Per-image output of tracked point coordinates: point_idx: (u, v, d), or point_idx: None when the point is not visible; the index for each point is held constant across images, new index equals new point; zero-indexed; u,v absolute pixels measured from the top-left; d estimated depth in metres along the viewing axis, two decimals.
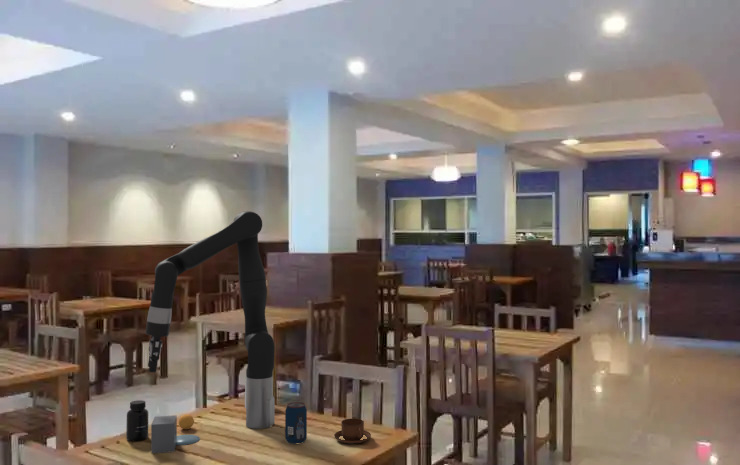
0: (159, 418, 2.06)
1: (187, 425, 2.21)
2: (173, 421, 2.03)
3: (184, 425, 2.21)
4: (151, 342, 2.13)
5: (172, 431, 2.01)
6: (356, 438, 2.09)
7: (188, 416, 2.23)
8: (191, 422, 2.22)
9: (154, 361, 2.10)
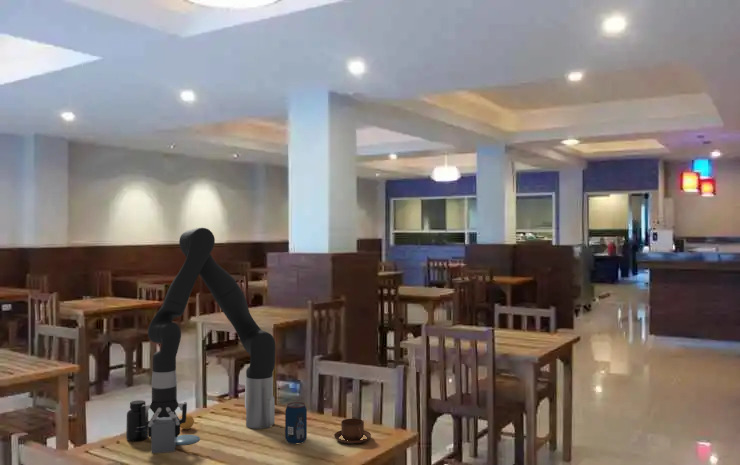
0: (159, 418, 2.06)
1: (187, 425, 2.21)
2: (173, 421, 2.03)
3: (184, 425, 2.21)
4: (170, 408, 2.03)
5: (172, 431, 2.01)
6: (356, 438, 2.09)
7: (188, 416, 2.23)
8: (191, 422, 2.22)
9: None
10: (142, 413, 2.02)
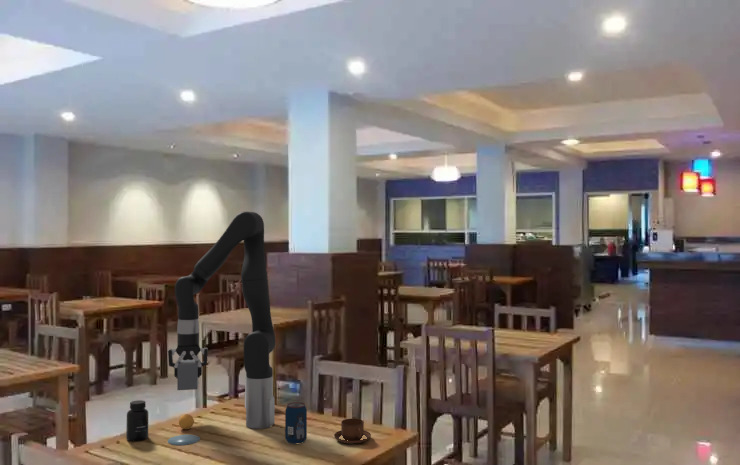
0: (183, 361, 2.35)
1: (187, 425, 2.21)
2: (196, 363, 2.31)
3: (184, 425, 2.21)
4: (193, 351, 2.32)
5: (195, 371, 2.29)
6: (356, 438, 2.09)
7: (188, 416, 2.23)
8: (191, 422, 2.22)
9: None
10: (169, 356, 2.30)
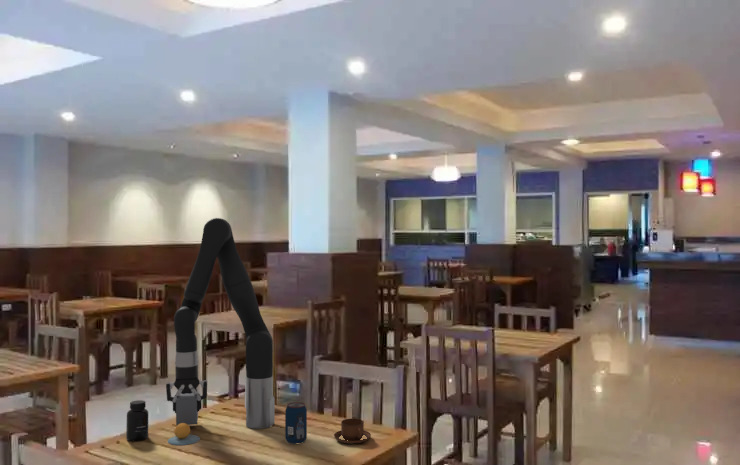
0: (182, 394, 2.26)
1: (184, 423, 2.14)
2: (195, 397, 2.23)
3: None
4: (192, 385, 2.24)
5: (194, 406, 2.21)
6: (356, 438, 2.09)
7: None
8: None
9: None
10: (167, 390, 2.22)
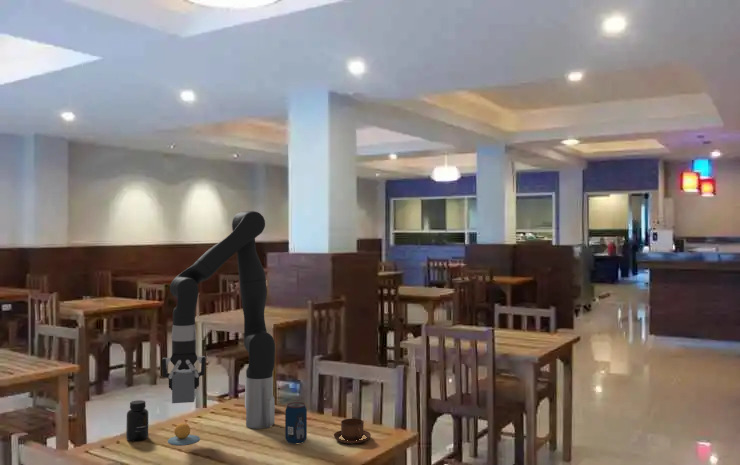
0: (179, 371, 2.13)
1: (184, 423, 2.14)
2: (193, 373, 2.10)
3: None
4: (189, 360, 2.11)
5: (192, 382, 2.08)
6: (356, 438, 2.09)
7: None
8: None
9: (199, 376, 2.13)
10: (163, 365, 2.09)
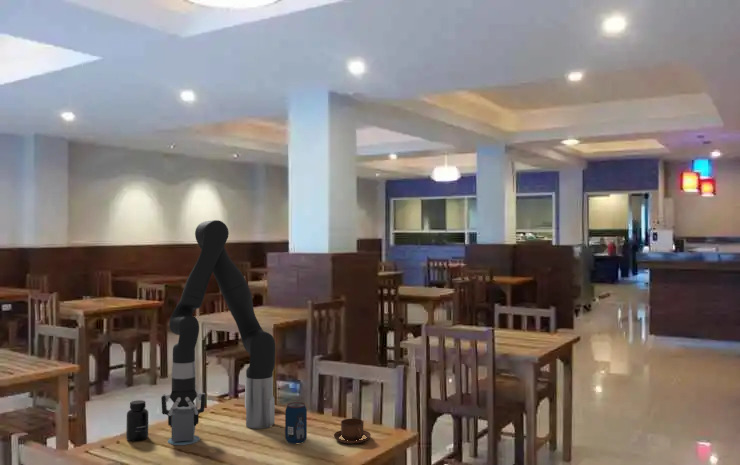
0: (178, 407, 2.13)
1: None
2: (192, 411, 2.10)
3: None
4: (189, 397, 2.11)
5: (191, 421, 2.08)
6: (356, 438, 2.09)
7: None
8: None
9: (198, 413, 2.13)
10: (162, 402, 2.09)
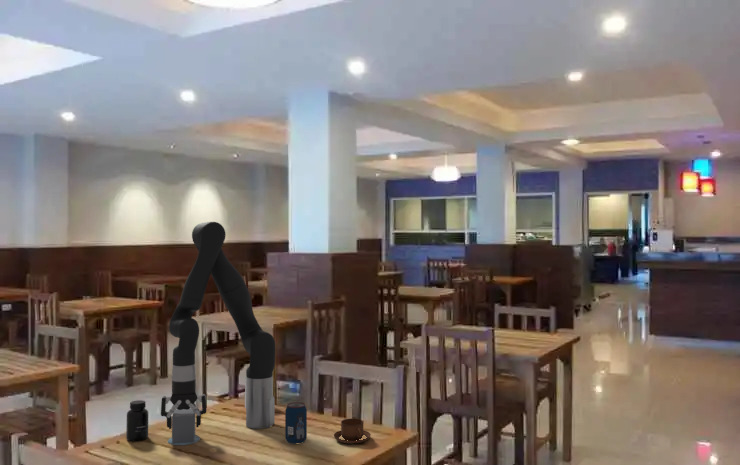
0: (179, 411, 2.14)
1: None
2: (193, 413, 2.11)
3: None
4: (189, 400, 2.11)
5: (192, 423, 2.09)
6: (356, 438, 2.09)
7: None
8: None
9: None
10: (162, 404, 2.09)
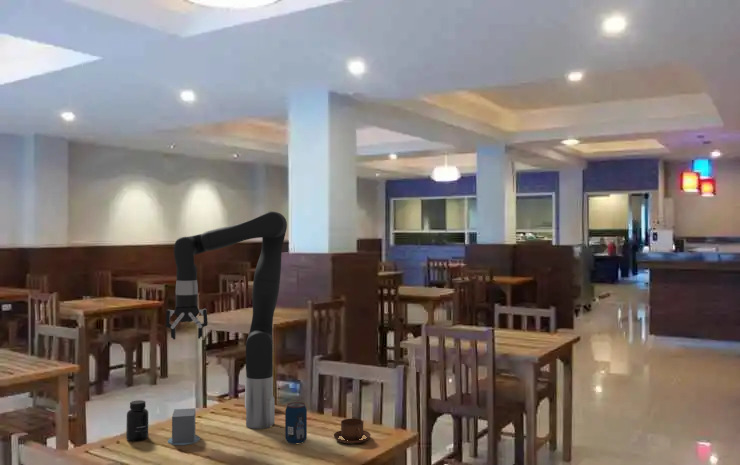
0: (179, 411, 2.14)
1: None
2: (193, 413, 2.11)
3: None
4: (192, 313, 2.28)
5: (192, 423, 2.09)
6: (356, 438, 2.09)
7: None
8: None
9: (202, 327, 2.31)
10: (167, 316, 2.27)
